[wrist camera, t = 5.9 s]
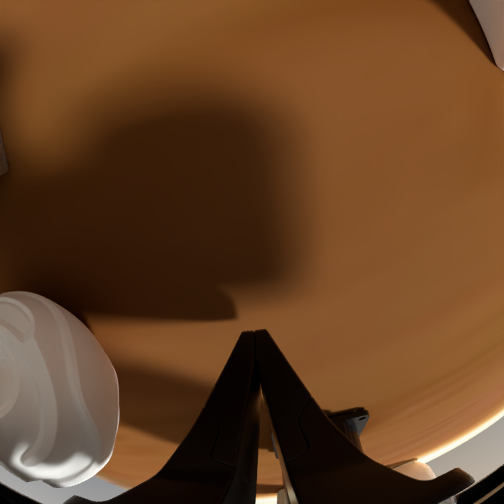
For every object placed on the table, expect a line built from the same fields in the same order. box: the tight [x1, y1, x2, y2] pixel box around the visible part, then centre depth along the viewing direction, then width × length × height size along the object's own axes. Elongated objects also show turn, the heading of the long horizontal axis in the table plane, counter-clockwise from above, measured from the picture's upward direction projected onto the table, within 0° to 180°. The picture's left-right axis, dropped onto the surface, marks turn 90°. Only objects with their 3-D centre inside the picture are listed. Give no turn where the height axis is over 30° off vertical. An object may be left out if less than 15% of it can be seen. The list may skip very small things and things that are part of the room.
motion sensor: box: [0, 291, 119, 488], centre depth 7 cm, size 8×8×8 cm
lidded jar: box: [393, 460, 436, 480], centre depth 27 cm, size 11×11×9 cm
